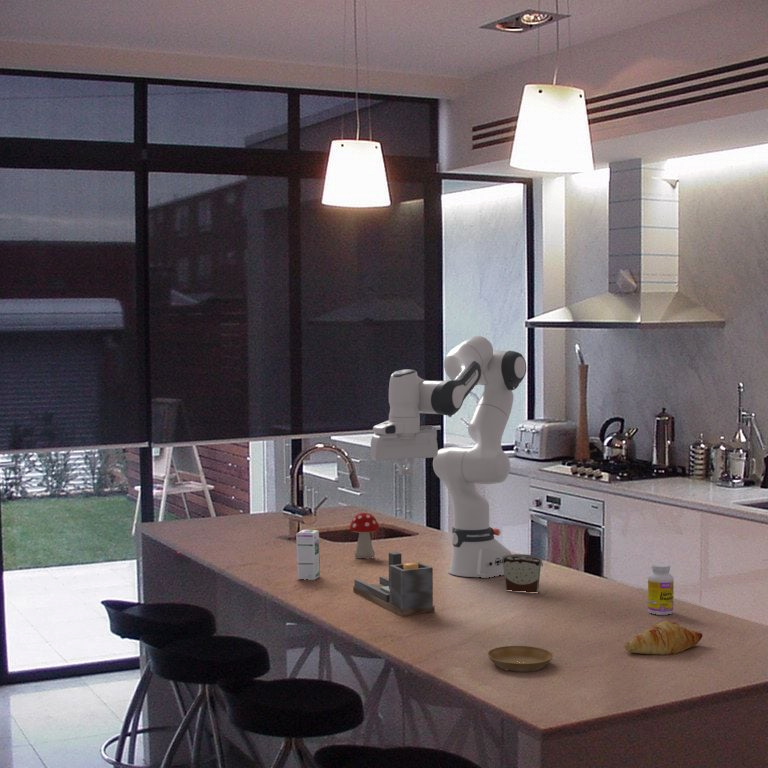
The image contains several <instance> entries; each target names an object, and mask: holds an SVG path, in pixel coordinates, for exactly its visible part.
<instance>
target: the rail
mask: <svg viewBox="0 0 768 768" xmlns="http://www.w3.org/2000/svg"><path fill="white" fill-rule="evenodd" d="M416 563H417V564H418V568H417V569H407V570H404V565H403V564H404V563H402V564H398V565H389V564H388V567H389V566H390V594H388V593H386V592H384V591H382V590H380V587H385V586H389V577H385V576H383V575H382V576H379V583H374V584H369V583H367V582H365V581H363V580H361V579H359V578H358V579H357V578H354V585H353V587H352V588H353V589H352V591H354V592H353V593H355V592H356V593H355V594H357V593H358V594H357V595H359V594H360V595H359V596H361V595H362V597H363V596H364V597H363V598H365V597H366V598H365V599H367V598H368V599H367V600H369V599H370V600H369V601H371V602H373V603H375V604H377V605H378V604H379V606H380V605H381V606H380V607H382V606H383V608H385V609H387V610H388V611H390V612H392V613H394V614H396V615H398V616H400V617H405V616H411V615H412V614H413V615H418V613H421V614H427V613H426V612H429V613H433V612H432V611H435V605H434V597H433V595H434V587H433V585H434V583H433V582H434V580H433V578H434V576H433V575H434V573H433V567H432V566H429V565H427V564H425V563H422V562H416ZM404 615H405V616H404Z"/></svg>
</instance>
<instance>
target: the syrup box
mask: <svg viewBox="0 0 768 768" xmlns="http://www.w3.org/2000/svg"><path fill="white" fill-rule="evenodd" d="M295 537H296V564H297V565H296V570H297V571H296V572H297V573H296V574H297V580H299V579H304V580H303V581H316V580H317V579H318V578H319V577H320V576H321V565H320V563H321V562H320V561H321V560H320V559H321V557H320V532H319V530H318V529H301V530H300V531H299V532H297V533H296V534H295ZM306 579H308V580H306ZM315 579H316V580H315Z"/></svg>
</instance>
